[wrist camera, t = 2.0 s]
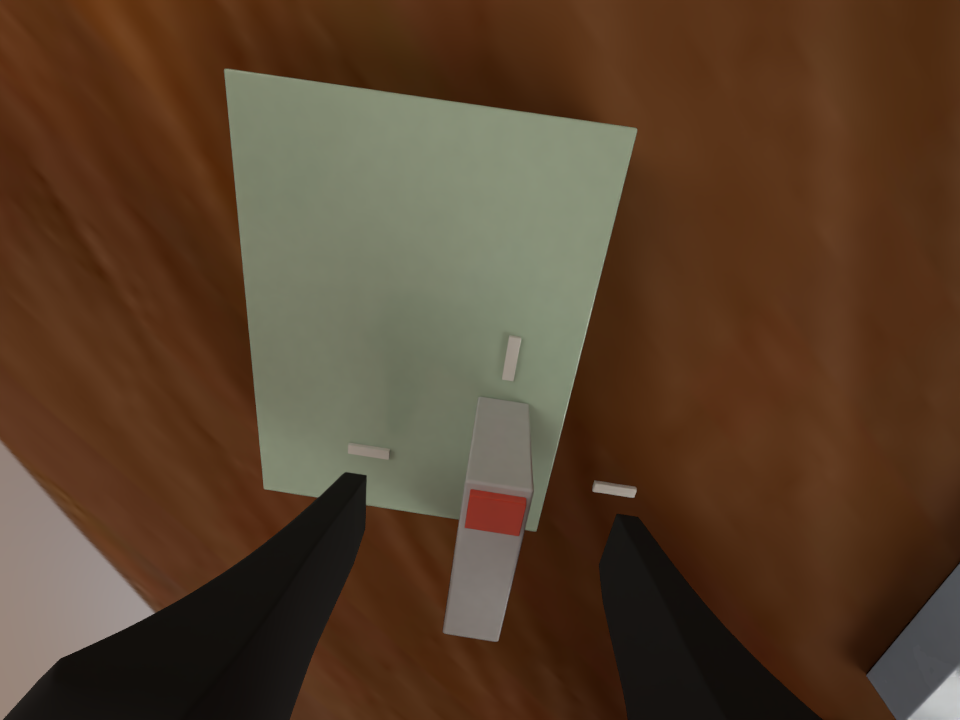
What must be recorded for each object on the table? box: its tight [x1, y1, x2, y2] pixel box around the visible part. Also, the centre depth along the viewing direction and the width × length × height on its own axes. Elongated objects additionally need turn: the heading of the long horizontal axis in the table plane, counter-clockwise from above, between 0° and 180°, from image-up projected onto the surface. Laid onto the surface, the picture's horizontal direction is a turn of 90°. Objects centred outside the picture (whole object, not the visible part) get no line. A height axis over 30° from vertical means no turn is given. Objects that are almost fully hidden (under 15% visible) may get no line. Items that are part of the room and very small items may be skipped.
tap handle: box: [443, 397, 534, 642], centre depth 13 cm, size 6×2×4 cm, turn 172°
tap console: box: [224, 68, 637, 531], centre depth 15 cm, size 15×13×3 cm
